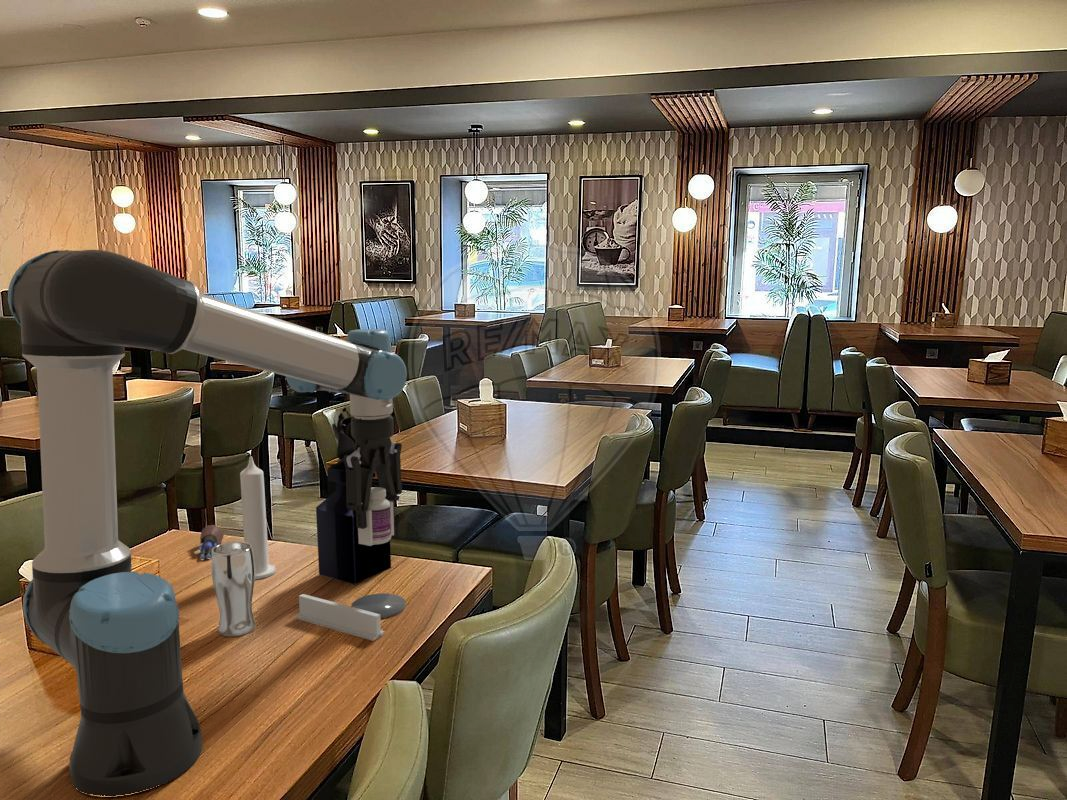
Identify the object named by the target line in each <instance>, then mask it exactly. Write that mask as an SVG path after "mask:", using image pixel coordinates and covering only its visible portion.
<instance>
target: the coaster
mask: <svg viewBox="0 0 1067 800" xmlns="http://www.w3.org/2000/svg"><path fill="white" fill-rule="evenodd" d="M406 603H407V602H406V599H405V598H404V597H402V596H401V595H398V594H394V593H385V592H384V593H373V594H369V595H364V596H362V597H359V598H357V599H355V600H354V601H353V602H352V604H351V606H350V607H354V608H358V609H362V610H365V611H369V612H373V613H377V614H380V620H381V619H386V618H391V617H394V616H397V615H398V614H401V613H402V612H403V611H404V610H405V608H406Z"/></svg>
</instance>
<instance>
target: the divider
mask: <svg viewBox="0 0 1067 800" xmlns="http://www.w3.org/2000/svg"><path fill="white" fill-rule="evenodd" d="M298 601H299V603H298V605H299V606H298V607H299V614H297V615H295V620H299V621H303V622H307V623H310V624H313V625H317V626H321V627H324V628H327V629H330V630H332V631H333V630H334V631H337V632H340V633H345V634H348V635H351V636H355V637H358V638H362V639H365V640H368V641H373V642H375V641H376V640H377V639H379V638H381V637H382V636H384V635H385V633H386V632H385V630H383V629H382V628H381V627H382V626H381V624H382V623H381V622H382V621H381V619H380V614H377V613H373V612H369V611H365V610H362V609H358V608H354V607H351V606H350V605H346V604H342V603H339V602H335V601H331V600H327V599H324V598H320V597H316V596H314V595H313V596H312V595H309V594H305V593H302V594H300V595H298Z"/></svg>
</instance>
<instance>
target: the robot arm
mask: <svg viewBox="0 0 1067 800" xmlns="http://www.w3.org/2000/svg"><path fill="white" fill-rule="evenodd" d="M8 285H9V286H8V289H7V301H8V306H9V310H10V313H11V314H12V316H13V318H14V320H15V321H16V323H18V326H20V340H21V355H22V357H23V358H24V359H25V360H27V361H28V362H29V363H30V364H31V365H32V366H34V368H35V370H36V377H37V399H38V400H37V401H38V419H39V420H38V421H39V425H38V426H39V442H40V443H39V445H40V466H41V469H40V470H41V488H42V511H43V531H44V532H43V533H44V548H43V550H41V551H40V552H39V553H38V554H37V555H36V556H35V557H33V559H32V561H31V570H32V579H31V580H30V581H29V583H28V584H27V586H26V589H25V593H24V595H23V599H22V610H23V617H24V619H25V622H26V623H27V625H28V628H29V629H30V631H31V632H32V633H33V635H34V636H35V637H36V638H37V639H38V640H39V641H40V642H41V643H42V644H44V645H46V646H48V647H49V648H50V649H51V650H52V651H54V652H55V653H56V654H58V656H60V657H61V658H62V659H64V660H65V661H66V662H67V663H68V664H70V665H71V666H72V667H73V668H74V669H75V674H76V679H77V680H76V681H77V688H78V689H77V690H78V698H79V707H80V720H79V722H78V723H79V724H78V727H77V730H76V734H75V740H74V743H73V747H72V751H71V753H70V757H69V764H68V765H69V776H70V783H71V782H72V783H71V785H72V784H73V785H74V786H75V788H77V789H78V790H79V791H81V792H84V793H87V794H93V795H100V796H101V795H102V796H104V795H105V796H116V795H125V794H131V793H135V792H140V791H143V790H146V789H150V788H153V787H156V786H158V785H161V784H163V783H165V784H167V783H169V782H171V781H173V780H175V779H176V778H178V777H179V776H181V775H182V774H183V773H185V772H186V771H187V770H189V769H190V768H191V767H192V766H193V765H194V764H195V763H196V761H197V760H198V759H199V757H200V755H201V753H202V751H203V736H202V728H201V724H200V723H199V721H198V719H197V717H196V713H194V710H193V708H192V706H191V704H190V702H189V700H188V699H187V696H186V694H185V692H184V691H185V690H184V681H183V670H182V669H183V667H182V665H183V664H182V654H181V653H182V652H181V638H180V636H181V635H180V623H179V619H180V611H179V610H180V609H179V606H178V602H177V600H176V594H175V590H174V587H173V585H172V584H170V582H169V581H168V580H166V579H165V578H163V577H162V576H158V575H156V574H153V573H148V572H144V573H140V574H139V572H138V571H132V553H131V552H132V551H131V549H130V547H129V546H127V545H126V544H124V543H123V542H122V541H120V540H119V530H118V529H119V527H118V525H119V524H118V499H117V498H118V497H117V496H118V495H117V470H116V468H117V467H116V465H117V464H116V462H117V461H116V441H115V438H116V437H115V407H114V405H115V404H114V402H115V401H114V380H113V379H114V376H113V373H114V372H113V368H115V365H116V364H117V363H119V362H120V361H121V360H122V359H123V358H124V357H125V356H126V352H125V351H126V349H125V347H129V348H131V347H132V348H138V349H146V350H152V351H155V352H161V353H163V354H170V355H172V354H175V353H178V352H180V351H181V350H184V351H188V352H191V353H196V354H199V355H203V356H207V357H211V358H214V359H219V360H223V361H226V362H229V363H230V362H231V363H235V364H238V365H241V366H246V367H250V368H252V369H258V370H261V371H265V372H268V373H273V374H277V375H281V376H285V379H286V381H287V384H288V385H289V387H290V388H291V389H292V390H293V391H294V392H297V393H314V392H317V391H326V392H333V393H339V394H344V395H345V394H346V395H349V411H350V413H349V414H350V415H352V416H351V417H352V419H351V434H352V437H353V438H354V439H355V441H356V445H355V448H354V453H352V454H351V455H350V456H348V455H345V456H344V457H343V461H344V464H345V468H346V507H347V509H351V510H355V511H356V526H357V528H358V540H359V544H363V545H368V546H371V545H373V532H372V510H368V507H369V500H370V493H371V488H372V484H373V479H374V478H373V474H374V473H375V475H376V477H377V480H378V481H377V482H378V487H381V488H385V489H386V497H385V499H387V500H388V501H389V502H390V516H391V537H392V536H395V513H396V512H395V501H397V502H398V501H399V499H400V495H401V494H402V493H403V486H402V485H403V484H402V464H401V453H402V452H401V451H402V443H400V442H395V441H392V439H391V438H392V437H393V436H394V434H395V429H394V428H395V424H394V422H395V421H394V417H393V416H392V413H393V412H394V407H393V405H394V404H393V399H394V398H395V397H398V395H400V394H401V393H402V391H403V390H404V388H405V385H406V383H407V377H408V376H407V375H408V372H407V367H406V364H405V362H404V360H403V359H402V357H400V356H399V355H398V354H396V353H394V352H393V351H392V343H391V342H392V341H391V336H390V333H389V332H388V331H387V330H385V329H382V328H381V329H379V328H378V329H377V328H361V329H360V328H359V329H353V330H349V332H347V338H346V340H344V339H341V338H338V337H335V336H332V335H329V334H326V333H323V332H320V331H317V330H314V329H311V328H308V327H305V326H302V325H298V324H295V323H293V322H289V321H286V320H283V319H280V318H277V317H275V316H271V315H268V314H265V313H261V312H259V311H256V310H253V309H249V308H247V307H244V306H240V305H237V304H234V303H231V302H230V301H229V302H228V301H226V300H225V301H224V300H222V299H219V298H216V297H213V296H210V295H207V294H204V293H200V291H199V289H198V287H197V285H196V284H195V283H193V282H192V281H190V280H187V279H184V278H181V277H178V276H175V275H173V274H170V273H167V272H165V271H162V270H160V269H157V268H156V267H152V266H151V265H148V264H145V263H144V262H143V263H142V262H140V261H138V260H135V259H132V258H130V257H127V256H125V255H122V254H119V253H116V252H113V251H107V250H103V249H84V250H69V249H65V250H64V249H63V250H59V249H58V250H57V249H55V250H51V251H48V252H44V253H41V254H39V255H36V256H34V257H33V258H30V259H28V260H26V261H25V262H24V263H22V265H21V266H20V267H19V268H17V270H16V271H15V273H14V274H13V275H12V278H11V280H10V282H9V284H8ZM353 416H354V417H353ZM364 467H368V468H369V469H368V468H364ZM361 503H362V504H361ZM175 777H176V778H175ZM174 778H175V779H174ZM172 779H173V780H172ZM170 780H171V781H170ZM168 781H169V782H168ZM166 782H167V783H166ZM73 785H72V786H73ZM163 785H164V784H163ZM74 786H73V787H74ZM161 786H162V785H161ZM75 788H74V789H75ZM156 788H157V787H156ZM78 790H77V791H78ZM79 791H78V792H79ZM81 792H80V793H81Z"/></svg>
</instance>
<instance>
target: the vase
mask: <svg viewBox="0 0 1067 800" xmlns="http://www.w3.org/2000/svg"><path fill="white" fill-rule="evenodd" d="M342 412H343V413H345V412H346V414H347V417H346V418H345V416H344V414H343V413H342ZM342 412H340V413H339V415H338V416H337V423H336V422H334V423H332V424H331V428H332V430H333V431H332V432H333V435H334V437H335V439H336V440H337V442H338V443H337V451H336V456H337V458H338V459H339V460H338V461H336V463H333V464H329V467H327V471H326V472H327V481H331V482H335V484H336V485H335V486H336V488H335V489H336V490H335V491H334V492H333V493H332V494H330V495H329V496H328V497H326V499H325V500H323V501H321V503H319V504H318V505H317V506H316V507H315V512H316V513H315V517H316V536H317V537H316V538H317V552H318V553H317V555H318V556H317V559H318V575H319V576H321V577H326V578H329V579H333V580H336V581H339V582H343V583H347V584H350V585H354V586H355V585H356V586H357V585H358V584H360V583H363V582H365V581H367V580H369V579H370V578H374V577H376V576H378V575H379V574H381V573H383V572H385V571H388V570H390V569H391V568H392V556H391V553H392V552H391V551H392V550H391V539H390V540H389V541H388V542H386V543H383V544H373V545H371V546H368V545H363V544H359V540H358V528H357V526H356V511H355V510H351V509H347V507H346V468H345V464H344V461H343V457H344V456H345V455H348V456H350V455H351V454H352V453H354V448H355V445H356V441H355V439H354V438H353V437H352V434H351V419H352V417H354V416H353V415H352V416H351V413H349V412H348V410H347V407H343V409H342ZM364 468H368V467H364ZM368 469H369V468H368ZM374 478H376V472H375V473H374V474H373V479H374Z"/></svg>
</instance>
